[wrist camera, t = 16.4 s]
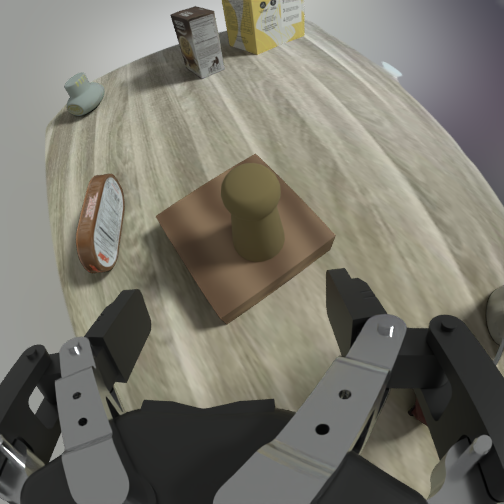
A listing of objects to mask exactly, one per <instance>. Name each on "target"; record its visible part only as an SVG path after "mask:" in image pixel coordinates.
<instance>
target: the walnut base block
mask: <svg viewBox="0 0 504 504" xmlns="http://www.w3.org/2000/svg"><path fill="white" fill-rule="evenodd" d="M245 163H257V164H261V165H263V166H265V167H267V168H269V169H270V170H271V171H272V172H273V173H275V172H274V171H273V170H272V169H271V168H270V167H269V166H268V165H267V164H266V163H265V162H264V161H263V160H262V159H261V158H260V157H259V156H258V155H256V154H254V155H252V156H251V157H249V158H247V159H245V160H244V161H242V162H240V163H239V164H237V165H235V166H233V167H232V168H230V169H228V170H227V171H225V172H223V173H222V174H220V175H219V176H217V177H215V178H214V179H212V180H210V181H209V182H207V183H206V184H204V185H202V186H201V187H199V188H198V189H196V190H195V191H193V192H191V193H190V194H188V195H187V196H185V197H184V198H182V199H181V200H179V201H178V202H176V203H175V204H173V205H172V206H170V207H169V208H167V209H166V210H164V211H163V212H161V213H160V214H158V215H157V216H156V218H157V220H158V221H159V223H160V225H161V226H162V228H163V230H164V231H165V233H166V235H167V236H168V238H169V240H170V241H171V243H172V245H173V246H174V248H175V250H176V251H177V253H178V254H179V256H180V258H181V259H182V261H183V262H184V264H185V266H186V267H187V269H188V270H189V272H190V274H191V275H192V277H193V278H194V280H195V281H196V283H197V284H198V286H199V287H200V289H201V291H202V292H203V294H204V295H205V297H206V298H207V300H208V301H209V303H210V304H211V306H212V307H213V309H214V310H215V312H216V313H217V315H218V316H219V318H220V319H221V320H222V321H224V322H225V323H226V324H228V323H230V322H231V321H233V320H234V319H236V318H237V317H239V316H240V315H241V314H243V313H244V312H246V311H247V310H249V309H250V308H251V307H253V306H254V305H256V304H257V303H258V302H260V301H261V300H263V299H264V298H265V297H267V296H268V295H270V294H271V293H272V292H274V291H275V290H277V289H278V288H279V287H281V286H282V285H283V284H285V283H286V282H288V281H289V280H290V279H292V278H293V277H294V276H296V275H297V274H298V273H300V272H301V271H302V270H304V269H305V268H306V267H308V266H309V265H310V264H312V263H313V262H314V261H316V260H317V259H318V258H320V257H321V256H322V255H324V254H325V253H326V252H328V251H329V250H330V249H331V247H332V244H333V241H334V239H335V236H336V235H335V234H334V233H333V232H332V231H331V230H330V229H329V228H328V227H327V226H326V224H325V223H324V222H323V221H322V220H321V219H320V218H319V217H318V216H317V215H316V214H315V213H314V212H313V211H312V210H311V208H310V207H309V206H308V205H307V204H306V203H305V202H304V201H303V200H302V199H301V198H300V197H299V196H298V195H297V194H296V193H295V192H294V191H293V190H292V189H291V188H290V187H289V186H288V185H287V184H286V183H285V182H284V181H283V180H282V179H281V178H280V177H279V176H278V175H277V174H276V173H275V175H276V177H277V179H278V181H279V183H280V190H281V196H280V199H279V202H278V205H277V208H278V212H279V215H280V219H281V222H282V226H283V230H284V235H285V241H284V245H283V248H282V249H281V250H280V252H279V253H278V254H277V255H276V256H275V257H273V258H272V259H270V260H267V261H264V262H253V261H249V260H246V259H244V258H243V257H241V256H240V255H239V254H238V253H237V251H236V250H235V248H234V245H233V239H232V222H231V213H230V212H229V211H228V210H227V209H226V208H225V206H224V204H223V201H222V198H221V184H222V182H223V180H224V178H225V176H226V175H227V174H228V173H229V172H230V171H231V170H232V169H233V168H235V167H237V166H239V165H242V164H245Z"/></svg>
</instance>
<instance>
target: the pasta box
mask: <svg viewBox="0 0 504 504" xmlns="http://www.w3.org/2000/svg"><path fill="white" fill-rule="evenodd" d="M222 5H223V10H224V16H225V21H226V27H227V33H228V38H229V44H230V46H232V47H236V48H239V49H242V50H245V51H248V52H251V53H254V54H257V55H258V54H260V53H263V52H265V51H267V50H269V49H272V48H274V47H277V46H279V45H281V44H284V43H287V42H289V41H292V40H294V39H297V38H300V37H302V36H304V0H222Z"/></svg>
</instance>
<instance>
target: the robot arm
mask: <svg viewBox="0 0 504 504" xmlns="http://www.w3.org/2000/svg"><path fill="white" fill-rule="evenodd" d="M326 308H327V314H328V318H329V321H330V324H331V326H332V329H333V332H334V335H335V338H336V340H337V343H338V346H339V349H340V352H341V355H342V356H338V357H337V358H336V359H335V361H334V362H333V363H332V365H331V366H330V368H329V369H328V371H327V372H326V374H325V375H324V376H323V378H322V379H321V381H320V382H319V383H318V385H317V386H316V388H315V389H314V390H313V392H312V393H311V394H310V396H309V397H308V398H307V400H306V401H305V402H304V404H303V405H302V406H301V407H300V409H299V410H298V411H297V413H295V412H292V411H289V410H284V409H277V408H275V402H274V399H265V400H251V401H238V402H234V403H230V404H225V405H221V406H216V407H211V408H206V409H202V408H197V407H193V406H189V405H184V404H180V403H177V402H173V401H154V400H144V401H143V404H142V406H141V409H137V410H133V411H129V412H125V410H124V407H123V405H122V403H121V400H120V398H119V395H118V393H117V390H116V389H115V387H114V383H115V382H122V383H127V381H128V379H129V376H130V374H131V372H132V370H133V368H134V365H135V363H136V361H137V359H138V357H139V355H140V352H141V350H142V348H143V346H144V344H145V342H146V340H147V338H148V336H149V334H150V331H151V319H150V316H149V314H148V311H147V308H146V305H145V302H144V299H143V296H142V293H141V291H140V290H139V289H133V290H123V291H122V292H121V293H120V294H119V295H118V297H117V298H116V299H115V301H114V302H113V303H111V304H110V305H109V306H107V307H106V308H105V309H104V311H103V312H102V313H101V316H99V317H98V318H97V321H95V322H94V324H93V325H92V326H91V328H90V329H89V331H88V332H87V333H86V335H85V336H84V337H76V338H73V339H71V340H69V341H67V342H66V343H65V344H64V345H63V346H62V347H61V349H60V351H59V353H55V354H48V352H47V350H46V349H45V347H44V346H43V345H34V346H32V347H30V348H28V349H27V350H25V351H24V352H23V354H22V355H21V356H20V357H19V359H18V360H17V362H16V363H15V364H14V366H13V367H12V368H11V370H10V371H9V373H8V374H7V375H6V377H5V378H4V380H3V381H2V383H1V384H0V498H1V499H3V500H5V501H7V502H8V503H10V504H504V378H503V376H502V374H501V373H500V371H499V370H498V369H497V367H496V366H495V364H494V363H493V361H492V360H491V358H490V357H489V356H488V354H487V353H486V351H485V350H484V349H483V347H482V346H481V345H480V343H479V342H478V341H477V339H476V338H475V337H474V335H473V334H472V333H471V331H470V330H469V329H468V327H467V326H466V325H465V324H464V323H463V321H461V320H460V319H458V318H457V317H454V316H451V315H439V316H436V317H434V318H433V319H432V320H431V321H430V324H429V328H407V327H406V324H405V322H404V321H403V320H402V319H400V318H399V317H397V316H394V315H390V314H387V312H386V311H385V309H384V308H383V306H382V305H381V303H380V302H379V300H378V299H377V297H375V294H374V293H373V291H372V290H371V289H370V287H369V286H368V284H367V283H366V282H364V281H362V280H361V279H359V278H354V279H351V277H350V275H349V274H348V272H347V271H346V269H345V268H340V269H332V270H327V272H326ZM486 318H487V325H488V329H489V332H490V334H491V336H492V338H493V339H494V341H495V342H496V343H497V344H499V345H500V344H501V341H502V339H503V338H504V285H503V286H501V287H499V288H497V289H496V290H495V291H493V293H492V294H491V296H490V298H489V300H488V304H487V311H486ZM36 386H37V387H38V389H39V390H40V391H41V393H42V394H43V396H44V399H43V401H42V403H41V404H40V406H39V408H38V410H37V412H36V414H34V413H33V412H32V411H31V409H30V408H29V404H28V401H29V397H30V395H31V394H32V392H33V390H34V388H35V387H36ZM391 388H413V390H414V392H415V395H416V397H417V399H418V402H419V404H420V407H421V409H422V412H423V415H424V417H425V420H426V422H427V425H428V428H429V430H430V433H431V436H432V439H433V442H434V444H435V447H436V450H437V453H438V456H439V459H440V461H439V463H438V464H437V465H436V466H435V467H434V469H433V471H432V473H431V478H430V482H431V491H430V494H429V497H428V499H427V500H426V499H425V498H424V497H423V496H422V495H421V494H420V493H418V492H417V491H415V490H414V489H412V488H410V487H409V486H407V485H405V484H404V483H402V482H400V481H399V480H397V479H395V478H394V477H392V476H391V475H389V474H388V473H386V472H384V471H383V470H381V469H380V468H378V467H377V466H375V465H374V464H372V463H371V462H369V461H368V460H366V459H365V458H363V457H362V456H360V454H361V452H362V450H363V448H364V446H365V444H366V442H367V440H368V438H369V436H370V434H371V431H372V429H373V427H374V425H375V423H376V421H377V419H378V417H379V414H380V412H381V410H382V408H383V406H384V404H385V401H386V399H387V397H388V395H389V392H390V390H391ZM61 431H62V437H63V441H64V446H65V451H64V452H63V453H62V455H60V456H59V457H57V458H55V459H54V460H52V461H51V462H49V461H50V458H51V456H52V453H53V451H54V448H55V446H56V443H57V441H58V438H59V436H60V434H61Z"/></svg>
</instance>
